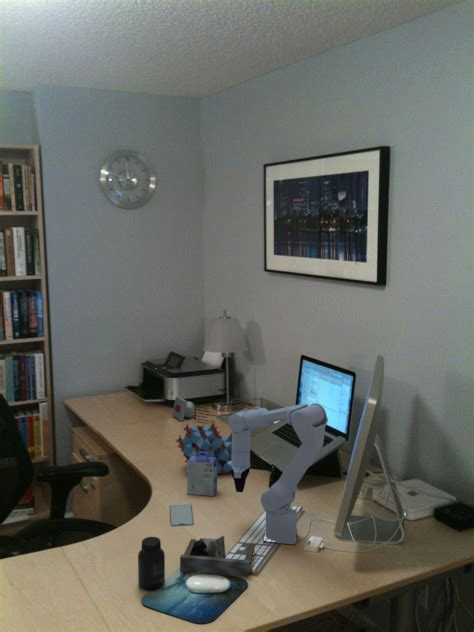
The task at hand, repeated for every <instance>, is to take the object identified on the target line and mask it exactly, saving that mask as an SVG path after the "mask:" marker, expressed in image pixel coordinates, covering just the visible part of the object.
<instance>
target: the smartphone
mask: <svg viewBox="0 0 474 632" xmlns="http://www.w3.org/2000/svg"><path fill="white" fill-rule="evenodd" d="M169 524H170V526H171V527H185V526H186V527H188V526H189V527H191V526H194V513H193V505H192V504H175V505H174V504H173V505H169Z"/></svg>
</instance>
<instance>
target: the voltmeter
mask: <svg viewBox="0 0 474 632" xmlns="http://www.w3.org/2000/svg"><path fill="white" fill-rule="evenodd" d="M196 405H197V402H196V401H195V402H192V401H188V400H186V399H184V398H183V397H181V396H175V400H174V404H173V409H172V414H171V415H172V416H173V417H174V418H175V419H176V420H178V421H181V422H183V421H186V418H191V417H192V416H194V420H195V421H197V418H198V423H201V424H202V423H203V421H205V422H212V423H213V422H214V423H215V420H208V419H207V416H212V417H216V415H215V414H208V413H210V410H207V407H210V408H211V407H212V408H218V406H217V405H211V404H203V403H199V406H198V405H197V406H196ZM200 405H201V406H200ZM205 406H206V407H205ZM197 408H198V409H197ZM203 409H205V410H203ZM197 411H201V412H197ZM203 412H204V413H203ZM198 414H199V415H198ZM203 415H205V416H203ZM196 417H197V418H196ZM203 418H205V419H203Z"/></svg>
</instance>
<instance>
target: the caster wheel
mask: <svg viewBox="0 0 474 632" xmlns="http://www.w3.org/2000/svg"><path fill="white" fill-rule="evenodd" d="M225 546H226V545H225V535H222V536H220V537H218V538H207V537H206V538H203V537H202V538H201V537H200V538H199V539H198V540H196V542H194V553H195V554H196V555H200V556H205V557H217V558H226V547H225Z"/></svg>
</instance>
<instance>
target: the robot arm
mask: <svg viewBox="0 0 474 632" xmlns="http://www.w3.org/2000/svg"><path fill="white" fill-rule="evenodd" d="M227 420H228V421H227V423H228V426H229V428H230V431H231V433H232V457H231V461H228V465H229V466H231V467H232V469H231V471H230V475H231V477H232V479H233V482H234V488H235V492H236V493H244V489H245V485H246V480H247V478H248V475H249V474H250V469H251V468H250V467H251V434H252V432H253V431H252V430H255V429H261V428H267V427H268V426H270V424H271V422H272V423H273V422H281V421H286V422H287V424H288V425H290V426H292V428H293V430H294V431H295V434H296V436H297V437H298V439H299V441H300V442H301V444H300V446H299V448H298V449H297V450H296V452H295V454H293V457H292V458H291V460H290V462H288V464H287V466H286V468H285V469H284V471H283V472H282V474H281V475H280V477H279V479H278V480H277V481H276V482H274V483H273V484H272V485H271V486H270V488H269V489H268V490H267V491H264V492H263V493H262V494H261V497H260V502H261V503H260V504H261V506H262V508H263V509H264V512H265V529H266V537H267V538H268V539H271V540H274V541H276V542H277V543H276V544H283V545H284V544H285V545H296V540H297V535H298V528H297V525H298V524H297V522H298V521H297V520H298V518H297V517H298V512H297V511H298V510H297V509H293V508H291V507H292V503H294V500H295V498H296V492H297V491H298V487H297V486H298V484H299V482H300V480H301V479H302V477H303V476H304V475H305V474H306V472H307V470H308V469H309V467H310V466H311V464H312V463H313V462H314V460H315V458H317V457H316V456H317V455H318V454H319V452H320V451H321V449H322V447H324V442H325V441H324V440H325V431H326V426H327V424H328V422H329V419H328V416H327V412H326V409H325V408H324V407H323V406H322V405H321V404H319V403H312V404H310V403H304V404H295V405H290V406H285V407H281V408H275V409H272V410H268V408H265V407H261V406H259V405H258V406H254V409H248V408H247V409H246V408H245V409H243V410H241V411H239V412H236V413H233V414H231V415H230V416H229V417H228V419H227Z"/></svg>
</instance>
